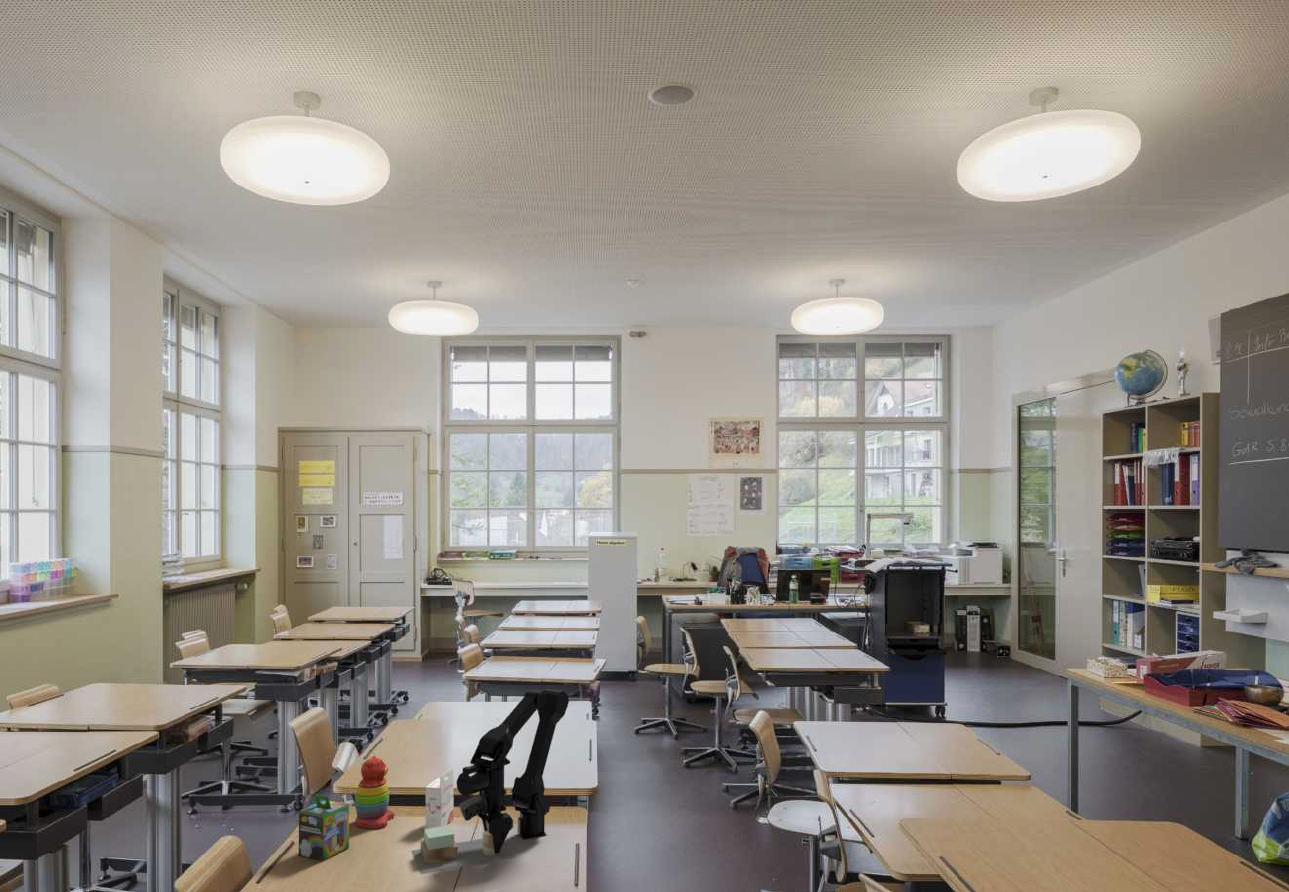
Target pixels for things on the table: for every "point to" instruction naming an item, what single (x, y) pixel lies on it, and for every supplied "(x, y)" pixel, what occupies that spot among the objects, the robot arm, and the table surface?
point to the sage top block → (438, 837)
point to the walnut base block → (438, 853)
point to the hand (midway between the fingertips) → (492, 846)
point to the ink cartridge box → (440, 801)
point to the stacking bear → (373, 796)
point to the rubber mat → (462, 857)
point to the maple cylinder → (488, 845)
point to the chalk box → (323, 829)
